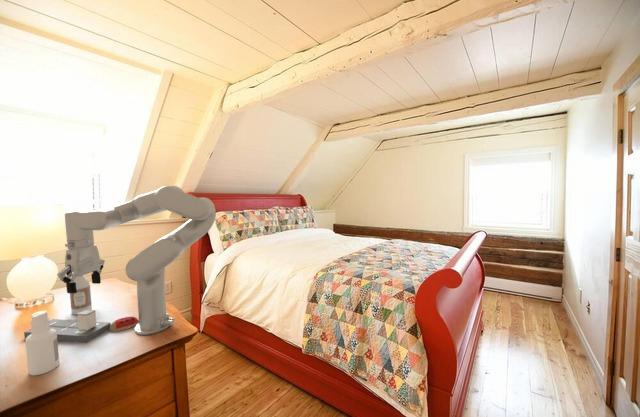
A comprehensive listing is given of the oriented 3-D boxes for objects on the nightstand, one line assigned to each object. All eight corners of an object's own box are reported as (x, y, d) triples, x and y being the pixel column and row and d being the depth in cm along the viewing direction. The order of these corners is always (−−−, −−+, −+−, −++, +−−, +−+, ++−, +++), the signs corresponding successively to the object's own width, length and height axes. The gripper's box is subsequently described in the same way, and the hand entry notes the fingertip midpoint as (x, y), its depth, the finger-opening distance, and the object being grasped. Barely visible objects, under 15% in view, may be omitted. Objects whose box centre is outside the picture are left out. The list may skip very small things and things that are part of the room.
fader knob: (96, 325, 106) (95, 310, 106) (87, 330, 103) (86, 314, 102) (87, 324, 107) (85, 309, 106) (78, 329, 103) (76, 313, 103)
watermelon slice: (109, 327, 110) (109, 319, 110) (138, 320, 116) (138, 312, 116) (109, 335, 105) (108, 326, 105) (140, 326, 111) (139, 318, 111)
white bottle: (65, 361, 89) (60, 307, 88) (45, 375, 82) (39, 318, 81) (43, 361, 89) (38, 308, 87) (21, 376, 82) (15, 318, 81)
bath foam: (70, 316, 119) (66, 271, 118) (73, 310, 125) (69, 267, 123) (90, 312, 123) (87, 269, 121) (92, 306, 129) (89, 265, 127)
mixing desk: (111, 328, 109) (110, 322, 109) (87, 342, 99) (86, 335, 99) (53, 324, 112) (52, 318, 112) (24, 338, 102) (24, 331, 102)
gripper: (66, 249, 93) (70, 297, 95) (110, 239, 110) (113, 280, 112) (46, 248, 94) (51, 297, 95) (93, 238, 111) (96, 279, 113)
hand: (84, 287), depth 104 cm, fingers open, 9 cm apart
